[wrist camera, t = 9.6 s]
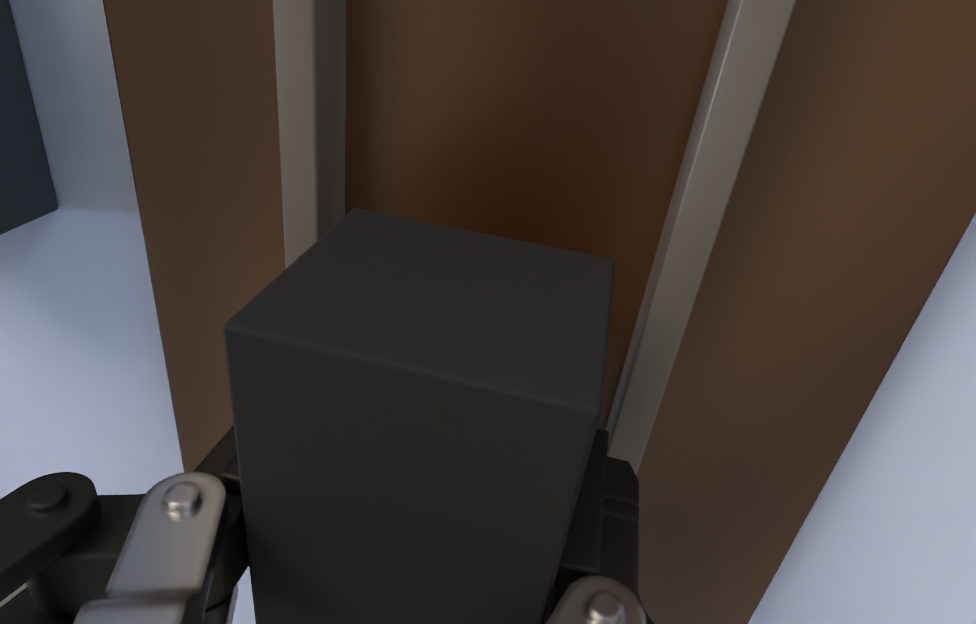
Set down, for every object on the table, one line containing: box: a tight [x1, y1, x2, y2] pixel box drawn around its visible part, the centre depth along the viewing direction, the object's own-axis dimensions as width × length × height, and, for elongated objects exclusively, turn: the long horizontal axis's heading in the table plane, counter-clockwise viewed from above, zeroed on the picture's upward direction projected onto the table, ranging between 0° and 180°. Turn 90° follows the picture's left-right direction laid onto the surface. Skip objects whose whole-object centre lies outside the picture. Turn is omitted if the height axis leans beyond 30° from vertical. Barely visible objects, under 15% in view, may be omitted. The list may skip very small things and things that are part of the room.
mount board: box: [103, 0, 976, 624], centre depth 13 cm, size 18×26×3 cm
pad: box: [223, 208, 615, 624], centre depth 12 cm, size 5×9×4 cm, turn 172°
